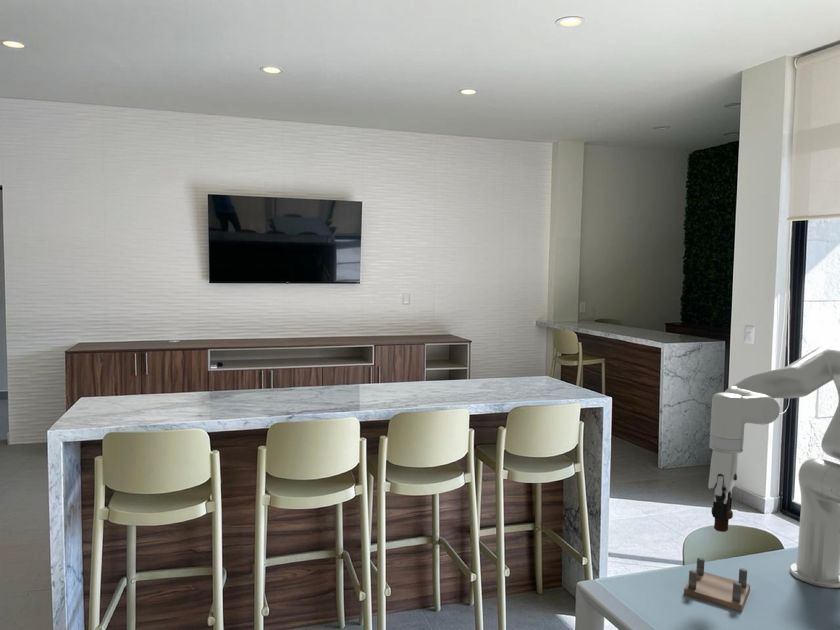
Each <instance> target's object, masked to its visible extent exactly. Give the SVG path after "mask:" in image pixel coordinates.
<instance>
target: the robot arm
mask: <svg viewBox="0 0 840 630" xmlns="http://www.w3.org/2000/svg"><path fill="white" fill-rule="evenodd" d="M832 381H833V383H834V385H835V388H836V391H837V395H838V403H837V407H836V409H835V412H834V414H833V416H832V418H831V420H830V421H829V424H828V426H827V428H826V430H825V432H824V434H823V437H822V439H821V444H820V445H821V446H820V447H821V449H822V452H824V454H826V455H827V456H829V457H831V458H834V459H836V460H838V461H840V346H831V345H825V346H823V345H822V346H820V347H817V348H815V349H813V350H812V351H810V352H808V353H806V354H805V355H803V356H801V357H800V358H798V359H796V360H795V361H793V362H791V363H790V364H788V365H787V366H784V367H781V368H778V369H772V370H769V371H765V372H759V373H756V374H752V375H749V376H746V377H744V378H742V379H741V380H739V381H737V382H736V383H734V384H732V385H731V386H729V387H728V388H727V389H725V391H724V392H716V393H715V394H713V396H712V397H711V398H712V400H711V411H710V413H711V415H710V429H709V430H710V431H709V445H708V447H709V448H710V450H712V452H711V453H712V454H711V459H710V468H709V477H708V487H707V488H709V490H713V489H714V498H713V502H712V503H713V504H712V507H713V515H712V518H714V519H715V518H719V519H723V520H727V514H728V504H727V496H728V492H730V491H731V492H730V505H729V507H730V508H729V509H731V510H732V504H733V498H732V495H733V493H732V492H733V488H734V486H735V484H736V482H737V480H734V476H735V473H736V474H738V456H739V455H738V454H739V453H740V454H741V453H743V452H744V440H745V437H744V436H745V424H751V425H752V424H753V425H754V424H755V425H765V426H766V425H769V424H772V423H774V422H775V421H776V420H777V419H778V418H779V415H780V412H781V409H780V404H779V403H778V401H777V400H776V399H796V398H797V399H798V398H803V397H807V396H809V395H810V394H812V393H813V392H815V391H816V390H818V389H820V388H821V387H823V386H824V385H826V384H828V383H830V382H832ZM798 483H799V489H800V490H799V491H800V516H799V529H798V530H799V531H798V544H797V545H798V546H797V558H796V559H797V561H796V562H794V563H792V564H790V566H789V572H790V574H791V575H792V576H793V577H795V578H796V579H798V580H800V581H802V582H804V583H807V584H810V585H811V586H812V585H813V586H816V587H821V588H828V589H829V588H831V589H835V588H836V589H838V588H839V589H840V463H836V462H834V461H830V460H827V459H823V458H809V459H808V460H806V461H804V462H803V463H802V464H801V465H800V467H799V471H798ZM723 488H726V491H724V490H723ZM722 493H725V495H722Z"/></svg>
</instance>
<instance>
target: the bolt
mask: <svg viewBox="0 0 840 630" xmlns="http://www.w3.org/2000/svg"><path fill="white" fill-rule="evenodd" d="M737 474H738V473H735V476H734V480H736V481H737V480H738V475H737ZM723 490H724V491H726V488H723ZM730 492H731V491H730ZM730 492H728V496H727V504H728V514H727V520H723V519H719V518H714V525H713V528H714V530H715V531H716V532H721V533H727V532H728V531H729V521H730V520H732V519H733V517H734V514H733V511H732V508H731V509H729V508H730V507H729V505H730ZM722 495H725V493H722ZM711 516H713V506H712V507H711Z"/></svg>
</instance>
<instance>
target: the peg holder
mask: <svg viewBox="0 0 840 630" xmlns="http://www.w3.org/2000/svg"><path fill="white" fill-rule="evenodd" d="M705 560H706V559H704V558H703V557H697V558H696V569H695V570H693V569H691V570H689V571H688V581H687V583H686V584H685V586H684V588H683V595H684V596H687V597H691V598H694V599H698V600H701V601H704V602H707V603H711V604H715V605H718V606H722V607H725V608H728V609H731V610H734V611H738V612H743V609H744V606H745V604H746V601H747V599H748V596H749V593H750V591H751V584H750V583H747V580H748V570H747V569H745V568H739V571H738V580H735V579H731V578H727V577H725V576H720V575H717V574H714V573H711V572H710V573H709V572H707V571H706V572H705Z"/></svg>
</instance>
